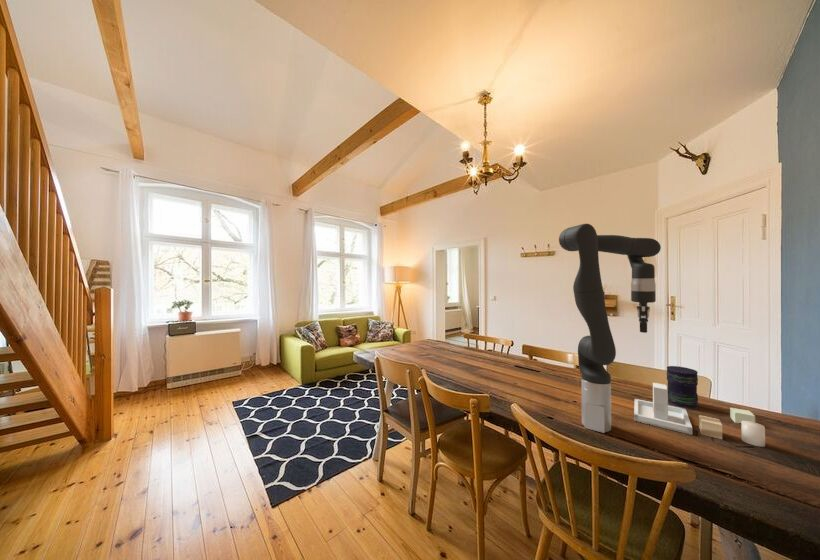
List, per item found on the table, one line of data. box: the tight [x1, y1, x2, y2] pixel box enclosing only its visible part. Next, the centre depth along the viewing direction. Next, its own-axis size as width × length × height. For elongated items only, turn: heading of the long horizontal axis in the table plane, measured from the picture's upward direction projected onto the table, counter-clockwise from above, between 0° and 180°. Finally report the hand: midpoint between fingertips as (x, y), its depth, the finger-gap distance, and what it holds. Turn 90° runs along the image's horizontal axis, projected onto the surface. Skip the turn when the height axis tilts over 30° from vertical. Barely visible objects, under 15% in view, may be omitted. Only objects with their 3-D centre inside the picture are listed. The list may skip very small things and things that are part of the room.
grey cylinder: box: [740, 421, 766, 448], centre depth 94 cm, size 5×5×6 cm
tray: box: [633, 398, 693, 436], centre depth 111 cm, size 18×16×2 cm
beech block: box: [698, 414, 723, 440], centre depth 100 cm, size 5×5×5 cm
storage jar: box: [666, 365, 699, 410], centre depth 123 cm, size 10×10×15 cm
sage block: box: [729, 407, 756, 424], centre depth 107 cm, size 5×5×4 cm
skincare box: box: [652, 382, 669, 420], centre depth 111 cm, size 6×4×12 cm
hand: (643, 330), depth 112 cm, fingers open, 8 cm apart
